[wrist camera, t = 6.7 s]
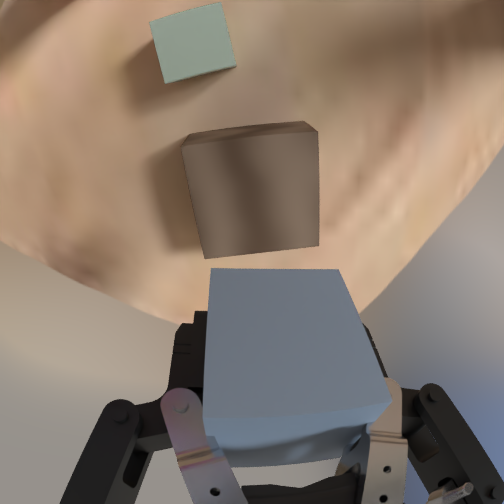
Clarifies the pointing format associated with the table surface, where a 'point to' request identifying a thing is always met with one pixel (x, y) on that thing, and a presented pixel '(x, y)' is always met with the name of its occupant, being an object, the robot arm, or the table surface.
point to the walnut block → (254, 188)
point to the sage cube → (193, 43)
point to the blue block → (287, 367)
